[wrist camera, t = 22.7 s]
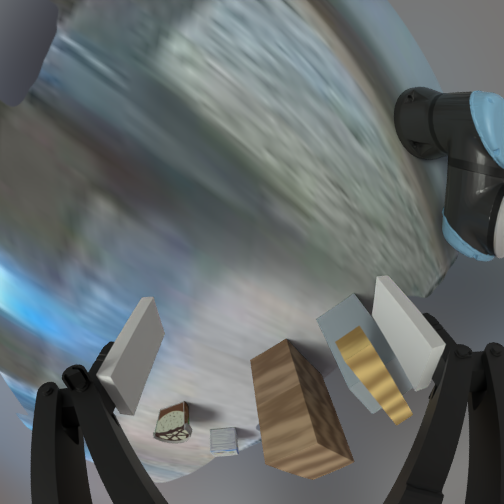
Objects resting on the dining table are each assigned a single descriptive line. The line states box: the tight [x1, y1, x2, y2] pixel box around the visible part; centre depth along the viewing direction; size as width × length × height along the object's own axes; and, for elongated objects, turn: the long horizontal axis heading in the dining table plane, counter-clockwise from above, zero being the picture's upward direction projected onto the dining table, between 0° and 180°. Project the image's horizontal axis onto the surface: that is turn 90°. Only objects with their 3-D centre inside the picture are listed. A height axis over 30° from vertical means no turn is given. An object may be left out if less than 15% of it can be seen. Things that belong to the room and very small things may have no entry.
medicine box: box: [210, 427, 239, 457], centre depth 70 cm, size 8×4×9 cm, turn 98°
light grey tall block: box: [316, 293, 413, 414], centre depth 52 cm, size 14×10×20 cm
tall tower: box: [250, 339, 354, 480], centre depth 52 cm, size 18×10×28 cm, turn 37°
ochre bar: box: [335, 325, 413, 425], centre depth 39 cm, size 30×4×4 cm, turn 37°
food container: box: [153, 401, 192, 443], centre depth 64 cm, size 12×6×10 cm, turn 122°
